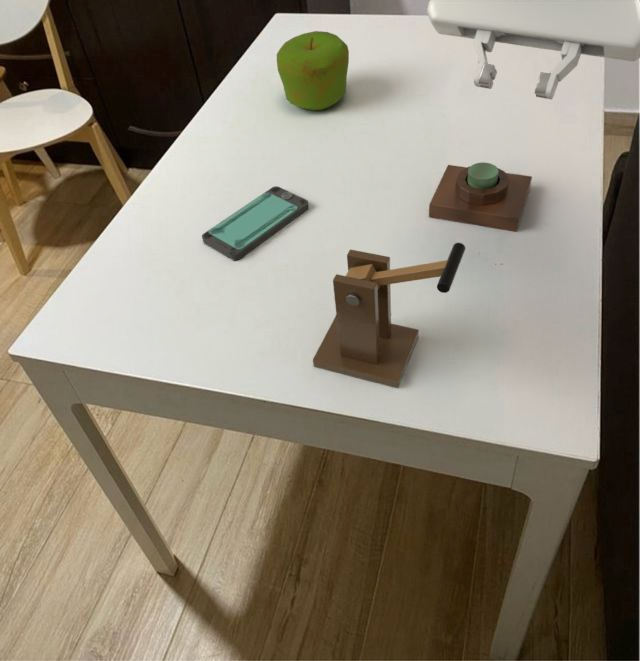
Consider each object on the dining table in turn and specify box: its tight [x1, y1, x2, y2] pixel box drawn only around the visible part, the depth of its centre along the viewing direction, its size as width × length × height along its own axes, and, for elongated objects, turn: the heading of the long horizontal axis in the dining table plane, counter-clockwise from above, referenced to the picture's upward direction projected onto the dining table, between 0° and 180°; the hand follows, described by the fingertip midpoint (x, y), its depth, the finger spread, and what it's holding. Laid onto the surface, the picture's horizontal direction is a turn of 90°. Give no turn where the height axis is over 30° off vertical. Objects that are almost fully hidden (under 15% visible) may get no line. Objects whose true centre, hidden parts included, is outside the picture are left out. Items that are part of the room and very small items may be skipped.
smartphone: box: [201, 185, 310, 261], centre depth 93 cm, size 7×1×15 cm
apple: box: [276, 30, 350, 112], centre depth 113 cm, size 12×12×11 cm
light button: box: [467, 161, 499, 189], centre depth 89 cm, size 4×4×2 cm
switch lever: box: [345, 242, 466, 294], centre depth 65 cm, size 12×6×2 cm, turn 68°
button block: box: [428, 164, 533, 232], centre depth 91 cm, size 12×10×4 cm
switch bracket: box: [312, 249, 420, 389], centre depth 71 cm, size 10×8×13 cm
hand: (512, 91), depth 61 cm, fingers open, 4 cm apart
